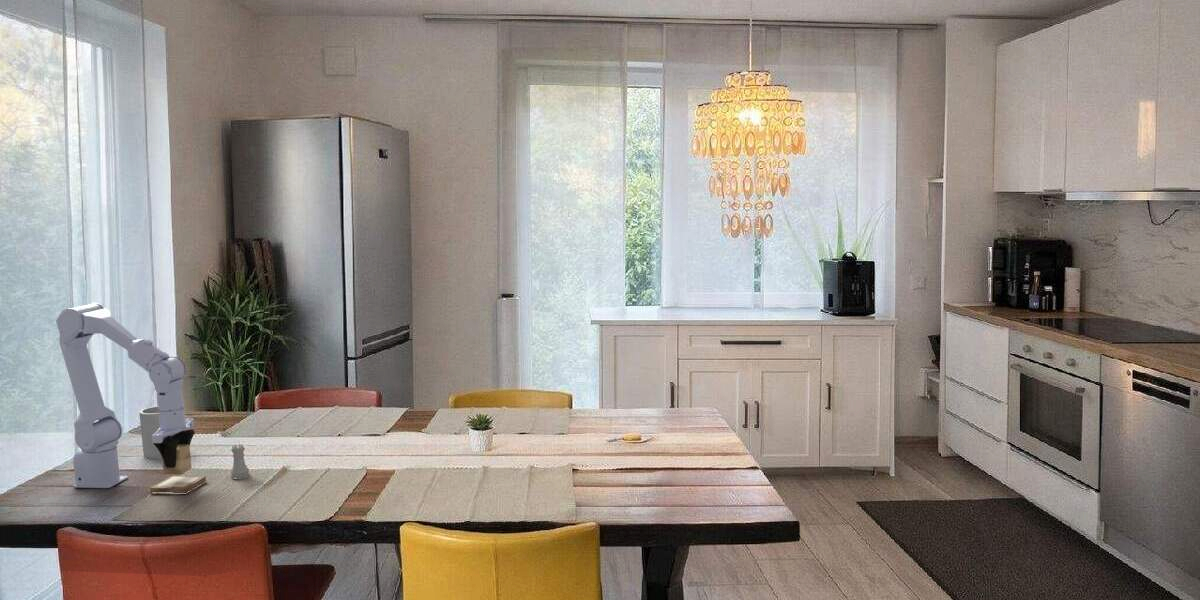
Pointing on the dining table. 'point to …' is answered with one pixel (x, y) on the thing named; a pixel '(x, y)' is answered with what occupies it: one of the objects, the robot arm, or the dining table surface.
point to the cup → (149, 431)
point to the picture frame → (178, 484)
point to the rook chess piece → (239, 462)
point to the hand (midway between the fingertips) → (176, 463)
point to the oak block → (180, 460)
